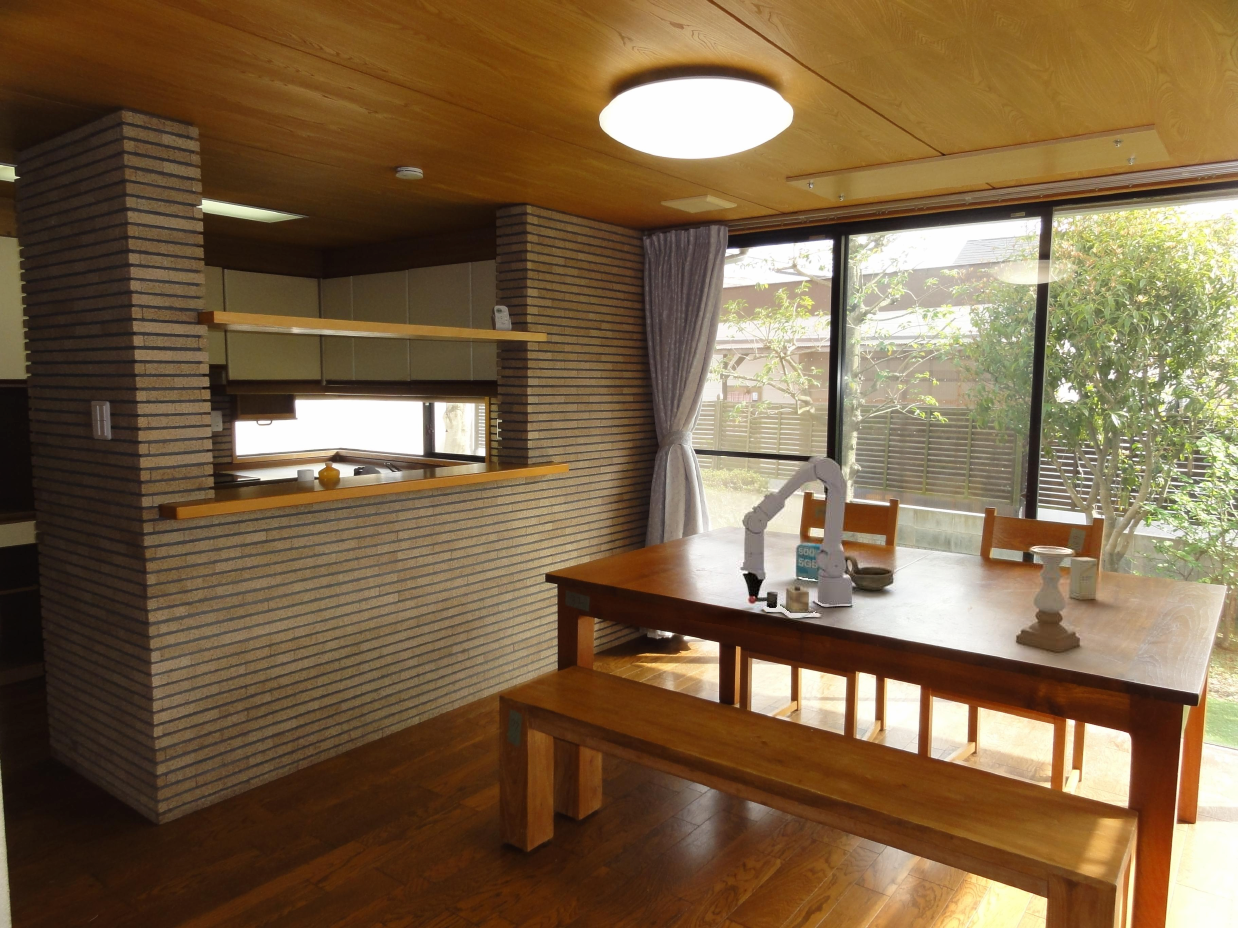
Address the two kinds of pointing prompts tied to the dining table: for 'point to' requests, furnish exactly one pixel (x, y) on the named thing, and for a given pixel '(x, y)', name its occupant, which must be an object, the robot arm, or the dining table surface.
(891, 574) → the bowl
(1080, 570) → the skincare box
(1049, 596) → the candle holder
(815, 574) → the data package
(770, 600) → the lever
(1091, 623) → the dining table surface
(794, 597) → the block
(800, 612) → the grey square slab
